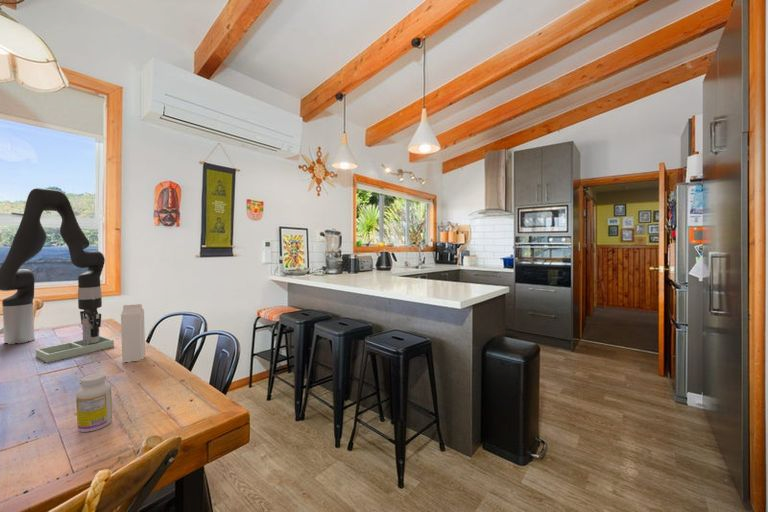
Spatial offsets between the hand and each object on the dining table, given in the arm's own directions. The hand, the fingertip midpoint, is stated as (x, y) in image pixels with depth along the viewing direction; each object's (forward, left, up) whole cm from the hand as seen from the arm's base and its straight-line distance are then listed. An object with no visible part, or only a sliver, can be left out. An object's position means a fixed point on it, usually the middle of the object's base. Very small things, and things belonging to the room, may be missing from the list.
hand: (91, 335), depth 139 cm
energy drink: (0, 0, -4) cm, 4 cm away
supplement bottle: (+74, -26, -6) cm, 79 cm away
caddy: (0, -5, -5) cm, 7 cm away
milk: (+31, +2, -6) cm, 32 cm away
